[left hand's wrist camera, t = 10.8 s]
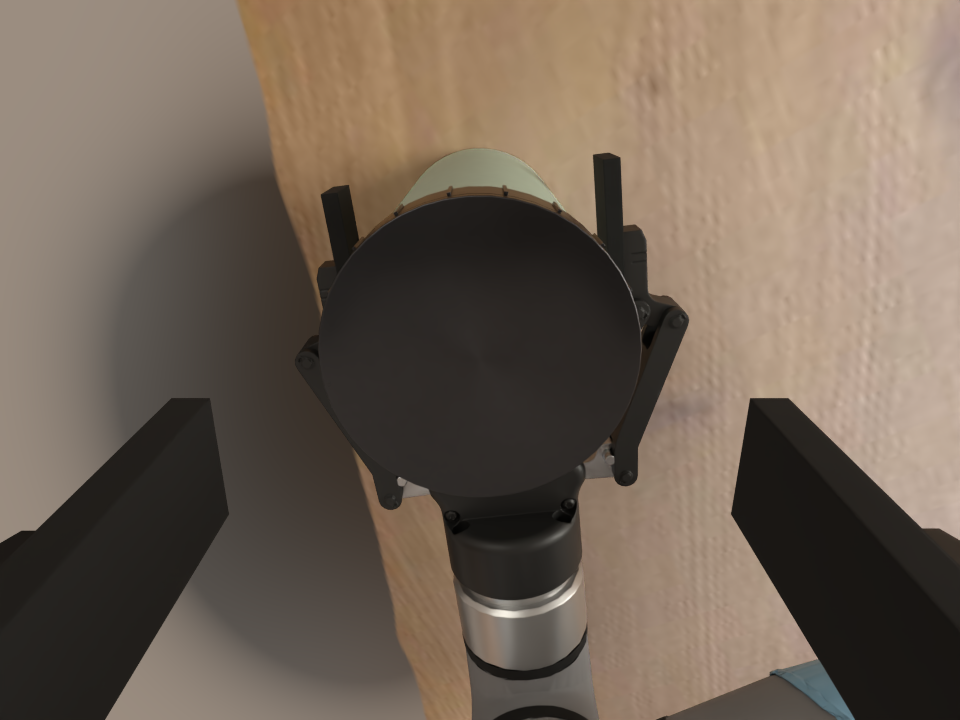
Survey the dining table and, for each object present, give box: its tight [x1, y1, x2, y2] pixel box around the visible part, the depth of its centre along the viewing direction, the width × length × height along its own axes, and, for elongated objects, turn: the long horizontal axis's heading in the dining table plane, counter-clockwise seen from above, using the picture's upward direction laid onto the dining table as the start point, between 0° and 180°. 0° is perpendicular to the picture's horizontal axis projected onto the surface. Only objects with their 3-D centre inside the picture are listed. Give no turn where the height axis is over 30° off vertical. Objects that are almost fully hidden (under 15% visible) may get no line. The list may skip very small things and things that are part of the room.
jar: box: [394, 148, 566, 212], centre depth 28 cm, size 9×9×20 cm
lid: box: [318, 185, 642, 497], centre depth 20 cm, size 9×9×2 cm
